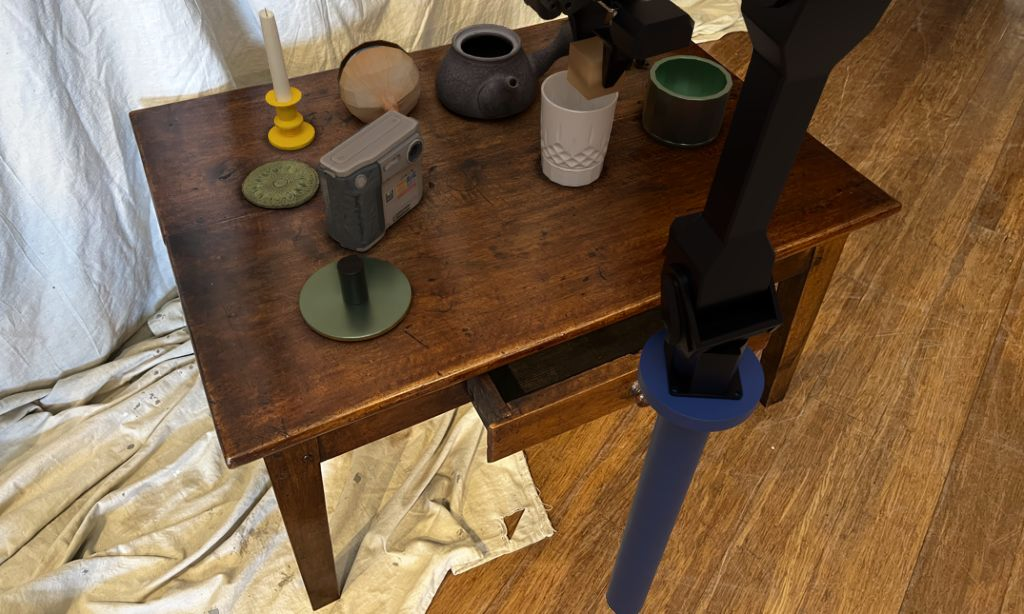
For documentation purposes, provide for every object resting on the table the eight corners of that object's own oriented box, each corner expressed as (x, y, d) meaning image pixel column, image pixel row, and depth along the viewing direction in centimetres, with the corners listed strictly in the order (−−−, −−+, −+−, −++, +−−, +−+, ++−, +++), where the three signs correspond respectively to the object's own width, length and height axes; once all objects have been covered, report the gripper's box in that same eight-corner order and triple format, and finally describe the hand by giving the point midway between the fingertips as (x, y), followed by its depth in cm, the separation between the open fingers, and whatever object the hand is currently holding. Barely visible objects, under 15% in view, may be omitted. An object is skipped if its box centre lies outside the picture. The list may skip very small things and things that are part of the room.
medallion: (226, 196, 83) (225, 190, 83) (274, 155, 88) (272, 149, 88) (289, 219, 81) (287, 214, 80) (334, 176, 86) (333, 171, 85)
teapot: (459, 150, 90) (457, 71, 83) (424, 78, 100) (420, 2, 92) (611, 122, 95) (622, 45, 87) (563, 56, 104) (570, -18, 97)
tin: (723, 150, 91) (737, 101, 87) (644, 146, 92) (653, 97, 87) (714, 105, 98) (726, 57, 93) (639, 101, 98) (647, 53, 93)
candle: (323, 128, 92) (300, 0, 80) (302, 154, 89) (275, 24, 77) (282, 119, 93) (254, -9, 81) (260, 145, 90) (227, 15, 78)
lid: (403, 348, 70) (399, 310, 67) (289, 342, 70) (278, 303, 67) (418, 267, 77) (415, 228, 73) (314, 262, 77) (305, 222, 73)
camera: (359, 260, 78) (346, 179, 70) (317, 235, 80) (301, 154, 72) (435, 201, 84) (430, 121, 76) (395, 179, 86) (386, 99, 79)
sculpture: (394, 16, 94) (423, 49, 82) (416, 90, 99) (445, 132, 87) (318, 40, 92) (336, 77, 81) (345, 114, 98) (365, 159, 86)
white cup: (531, 148, 91) (536, 70, 83) (599, 145, 91) (610, 67, 84) (541, 192, 85) (546, 113, 78) (612, 189, 86) (625, 110, 79)
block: (622, 90, 77) (628, 53, 74) (587, 100, 76) (592, 63, 73) (600, 70, 80) (605, 33, 77) (566, 79, 78) (569, 42, 75)
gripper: (478, -117, 68) (478, 48, 80) (594, -26, 57) (574, 150, 69) (588, -136, 72) (573, 25, 83) (716, -53, 61) (678, 118, 73)
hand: (595, 75), depth 77 cm, fingers closed on block, 4 cm apart
